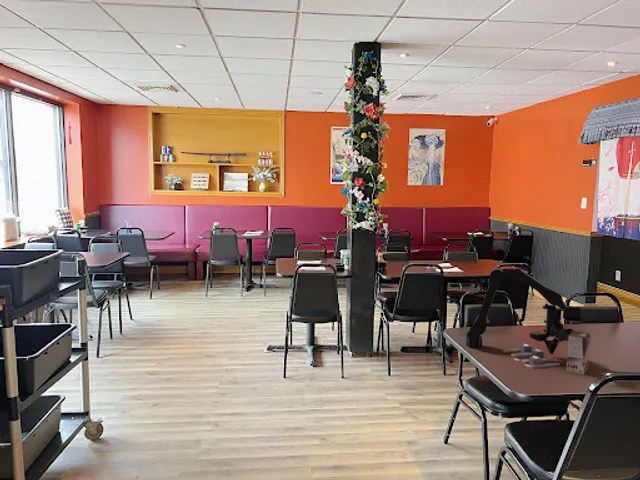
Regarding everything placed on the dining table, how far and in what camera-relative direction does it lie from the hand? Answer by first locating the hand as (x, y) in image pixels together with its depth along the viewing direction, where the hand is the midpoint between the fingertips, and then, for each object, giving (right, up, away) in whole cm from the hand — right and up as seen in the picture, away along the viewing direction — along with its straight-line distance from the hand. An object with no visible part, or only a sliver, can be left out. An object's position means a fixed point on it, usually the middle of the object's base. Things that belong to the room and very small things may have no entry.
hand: (551, 354), depth 204 cm
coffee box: (+3, -4, -14) cm, 15 cm away
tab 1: (-9, -1, +6) cm, 10 cm away
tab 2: (-7, -1, -1) cm, 7 cm away
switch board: (-10, -3, -2) cm, 11 cm away
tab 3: (-12, -2, -10) cm, 16 cm away
